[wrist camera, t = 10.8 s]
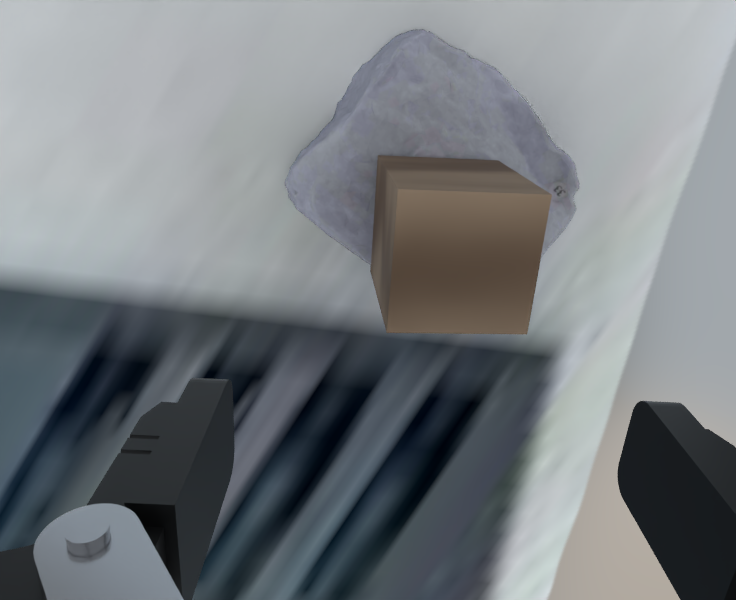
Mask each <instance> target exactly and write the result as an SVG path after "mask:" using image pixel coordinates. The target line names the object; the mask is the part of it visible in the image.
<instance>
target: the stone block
mask: <svg viewBox="0 0 736 600" xmlns="http://www.w3.org/2000/svg"><path fill="white" fill-rule="evenodd" d="M378 155H384V156H407V157H431V158H455V159H479V160H499V161H500V162H502V163H503V164H505V165H506V166H508V167H509V168H511V169H513V170H514V171H516V172H517V173H519V174H520V175H522V176H524V177H525V178H527V179H528V180H530V181H531V182H533V183H534V184H536V185H538V186H539V187H541V188H542V189H544V190H545V191H547V192H548V193H550V194H552V197H551V203H550V209H549V214H548V220H547V225H546V231H545V237H544V242H543V248H542V253H541V257H542V255H543V254H544V253H545V252H546V250H547V249H548V248H549V247H550V246H551V244H552V243H553V242H554V241H555V240H556V239H557V238H558V237H559V235H560V234H561V233H562V232H563V231H564V230H565V229H566V227H567V225H568V224H569V222H570V221H571V219H572V217H573V215H574V213H575V211H576V206H575V203H574V197H573V196H574V195H575V193H576V191H577V190H578V189H579V181H578V178H577V173H576V167H575V164H574V162H573V161H572V159H571V158H570V157H569V156H568V155H567V154H566V153H565V152H564V151H562V150H560V149H558V148H557V147H556V145H555V144H554V143H553V141H552V140H551V139H550V137H549V136H548V134H547V132H546V129H545V128H544V126H543V124H542V123H541V121H540V119H539V118H538V116H537V115H536V114H535V113H534V111H533V110H532V108H531V107H530V106H529V104H528V103H527V102H526V100H525V99H524V98H523V97H522V96H521V95H520V94H519V93H518V92H517V91H516V90H514V88H513V87H512V86H511V84H510V83H509V82H508V81H507V80H506V79H505V78H504V77H503V75H502V74H501V73H500V72H499V71H497V70H496V69H495V68H493V67H491V66H489V65H487V64H485V63H482V62H481V61H479V60H477V59H473V58H470V56H469V55H468V54H467V53H466V52H465V51H463V50H460V49H456V48H453V47H451V46H449V45H448V44H446V43H445V42H444V41H442V40H441V39H439V38H437V37H436V36H435V35H434V34H433V33H431V32H430V31H429V32H427V31H425V30H411V31H408V32H406V33H404V34H400V35H398V36H396V37H395V38H393V39H392V40H391V41H390V42H389V43H388V44H386V45H385V46H384V47H383V48H382V49H381V50H380V51H379V52H378V53H377V54H376V55H375V56H374V57H373V58H372V59H371V60H370V61H369V62H367V63H365V64H363V65H362V66H361V68H360V69H359V71H358V72H357V73H356V74H355V75H354V76H353V78H352V82H351V83H350V85H349V86H348V88H347V91H346V93H345V95H344V96H343V98H342V100H341V101H339V102H338V104H337V108H336V112H335V115H334V117H333V119H332V121H331V122H330V123H329V124H328V125H327V126H326V127H325V128H324V129H323V130H322V131H321V132H320V134H319V135H318V137H317V138H316V139H315V140H313V141H312V142H311V143H310V144H309V146H308V147H307V148H305V149H304V150H302V151H301V152H300V154H299V155H298V157H297V158H296V160H295V162H294V163H293V165H292V166H291V167H290V170H289V174H288V176H287V178H286V180H285V186H286V188H287V190H288V192H289V195H288V197H289V198H290V200H291V201H293V203H294V205H295V207H296V208H297V210H298V211H300V212H301V213H302V214H304V215H305V216H306V217H307V218H309V219H310V220H311V221H312V222H313V223H314V224H315V225H317V226H318V227H319V228H320V229H321V230H323V231H324V232H325V233H326V234H328V235H329V236H330V237H332V238H333V239H335V240H336V241H338V242H339V243H341V244H342V245H343V246H345V247H346V248H347V249H349V250H350V251H351V252H353V253H354V254H355V255H357V256H358V257H360V258H361V259H363V260H364V261H366V262H367V263H369V264H371V256H372V240H373V224H374V208H375V192H376V176H377V160H378Z"/></svg>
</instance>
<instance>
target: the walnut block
mask: <svg viewBox="0 0 736 600" xmlns="http://www.w3.org/2000/svg"><path fill="white" fill-rule="evenodd" d="M551 197H552V194H550V193H548V192H547V191H545V190H544V189H542V188H541V187H539V186H538V185H536V184H534V183H533V182H531V181H530V180H528V179H527V178H525V177H524V176H522V175H520V174H519V173H517V172H516V171H514V170H513V169H511V168H509V167H508V166H506V165H505V164H503V163H502V162H500V161H499V160H479V159H455V158H431V157H407V156H384V155H378V160H377V176H376V192H375V208H374V224H373V240H372V256H371V275H372V279H373V283H374V286H375V290H376V294H377V298H378V301H379V305H380V309H381V313H382V316H383V320H384V324H385V328H386V331H387V333H455V334H527V332H528V326H529V321H530V315H531V309H532V304H533V298H534V293H535V287H536V281H537V276H538V270H539V265H540V259H541V253H542V248H543V242H544V237H545V231H546V225H547V220H548V214H549V209H550V203H551Z"/></svg>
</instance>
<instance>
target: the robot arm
mask: <svg viewBox="0 0 736 600" xmlns="http://www.w3.org/2000/svg"><path fill="white" fill-rule="evenodd" d="M233 461H234V419H233V390H232V383H231V381H230V380H223V379H202V378H192V379H190V381H189V383H188V385H187V386H186V388H185V390H184V392H183V394H182V396H181V398H180V399H179V401H178V403H171V402H161V403H159V404H158V405H157V406H155V407H154V408H153V409H151V410H150V411H148V412H147V413H146V414H144V415H143V416H141V418H140V419H139V421H138V423H137V424H136V426H135V428H134V429H133V431H132V432H131V434H130V438H128V439H127V441H126V442H125V444H124V445H123V447H122V449H121V453H119V454H118V455H117V457H116V458H115V460H114V462H113V463H112V465H111V467H110V468H109V470H108V471H107V473H106V475H105V476H104V478H103V480H102V481H101V483H100V484H99V486H98V488H97V489H96V491H95V493H94V494H93V496H92V497H91V499H90V501H89V502H88V504H87V506H83V507H80V508H77V509H74V510H72V511H70V512H67V513H65V514H64V515H62V516H60V517H58V518H57V519H55V520H54V521H53V522H51V523H50V524H49V525H48V526H47V527H46V528H45V529H44V530H43V531H42V532H41V533H40V535H39V537H38V538H37V540H36V542H35V544H33V545H30V546H26V547H22V548H18V549H12V550H7V551H2V552H0V600H192V598H193V595H194V591H195V588H196V585H197V582H198V579H199V576H200V573H201V569H202V566H203V563H204V560H205V557H206V554H207V551H208V547H209V544H210V541H211V538H212V535H213V532H214V529H215V525H216V522H217V519H218V516H219V513H220V510H221V507H222V503H223V500H224V497H225V494H226V491H227V488H228V485H229V482H230V478H231V474H232V469H233ZM618 484H619V489H620V493H621V495H622V498H623V500H624V501H625V503H626V505H627V507H628V508H629V510H630V512H631V514H632V515H633V517H634V519H635V521H636V522H637V524H638V526H639V528H640V529H641V531H642V533H643V535H644V536H645V538H646V540H647V541H648V543H649V545H650V547H651V549H652V550H653V552H654V554H655V555H656V557H657V559H658V561H659V563H660V564H661V566H662V568H663V570H664V571H665V573H666V575H667V577H668V579H669V580H670V582H671V584H672V585H673V587H674V589H675V591H676V593H677V594H678V596H679V598H680V599H681V600H736V448H735V447H734V446H733V445H732V444H730V443H729V442H727V441H725V440H724V439H723V438H721V437H719V436H718V435H716V434H715V433H713V432H712V431H710V430H709V429H704V427H703V426H702V425H701V424H700V423H699V422H698V421H697V420H696V418H695V417H694V416H693V415H692V414H691V413H690V412H689V411H688V410H687V408H686V407H685V406H684V405H682V404H681V403H671V402H652V401H640V402H639V403H637V404H636V406H635V407H634V409H633V412H632V416H631V420H630V424H629V427H628V431H627V435H626V439H625V443H624V446H623V450H622V454H621V458H620V462H619V466H618Z"/></svg>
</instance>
